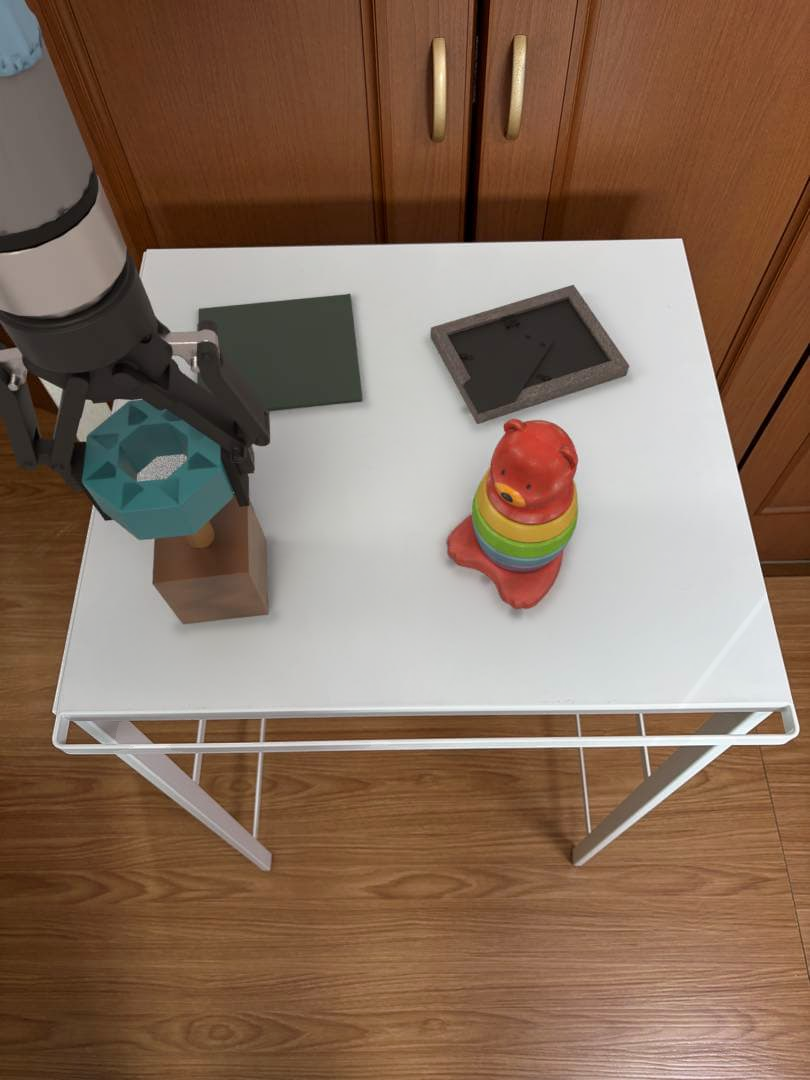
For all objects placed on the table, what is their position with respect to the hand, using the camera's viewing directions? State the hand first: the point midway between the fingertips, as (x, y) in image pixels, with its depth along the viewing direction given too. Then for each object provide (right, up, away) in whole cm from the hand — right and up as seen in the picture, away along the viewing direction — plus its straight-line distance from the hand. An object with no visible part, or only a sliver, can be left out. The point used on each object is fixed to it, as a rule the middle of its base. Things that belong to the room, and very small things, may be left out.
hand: (178, 498), depth 58 cm
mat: (+3, +18, +27) cm, 32 cm away
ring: (0, +1, -2) cm, 2 cm away
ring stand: (0, -7, +13) cm, 15 cm away
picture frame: (+31, +17, +26) cm, 45 cm away
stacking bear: (+28, -4, +15) cm, 32 cm away
